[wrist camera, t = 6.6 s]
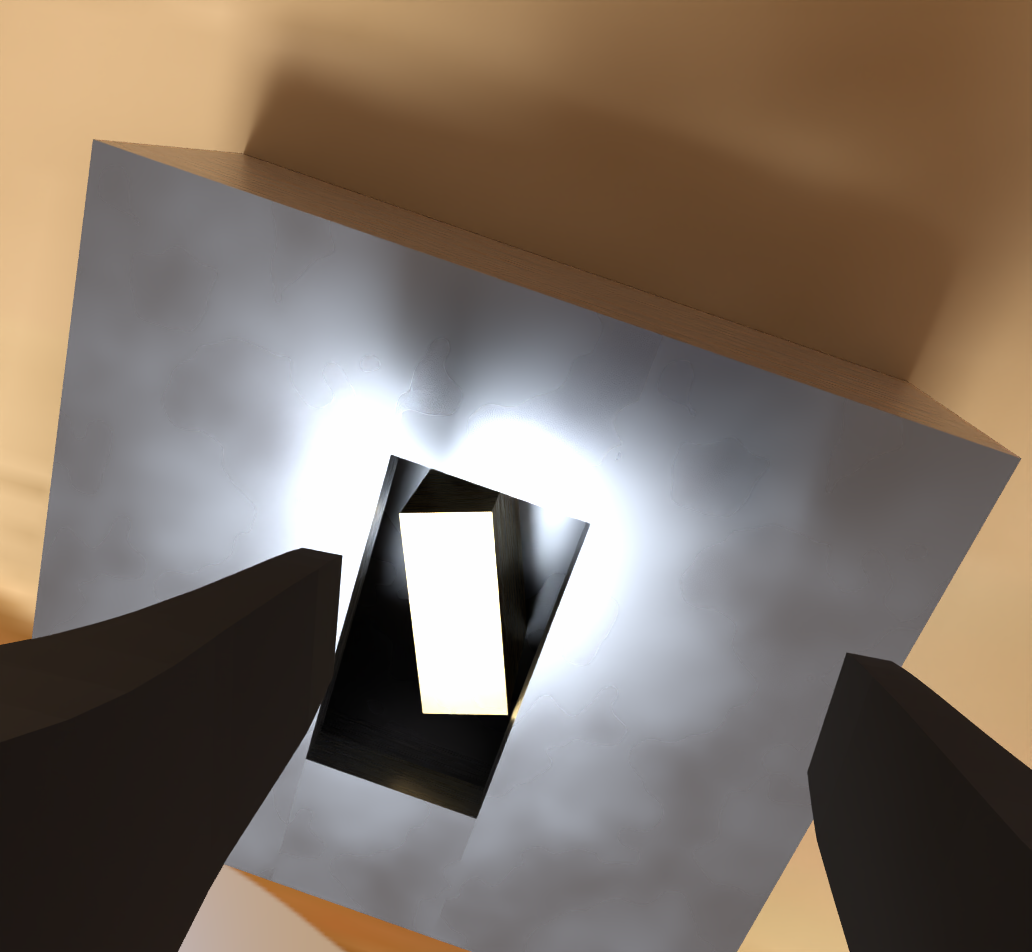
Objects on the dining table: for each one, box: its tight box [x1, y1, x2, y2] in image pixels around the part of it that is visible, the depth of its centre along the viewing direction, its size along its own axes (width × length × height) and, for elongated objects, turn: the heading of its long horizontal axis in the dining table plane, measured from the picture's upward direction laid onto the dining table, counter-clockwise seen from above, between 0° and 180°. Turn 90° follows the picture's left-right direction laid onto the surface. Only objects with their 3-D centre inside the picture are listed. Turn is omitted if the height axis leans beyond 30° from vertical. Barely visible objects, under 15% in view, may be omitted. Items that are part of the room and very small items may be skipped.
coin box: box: [32, 139, 1021, 952], centre depth 20 cm, size 17×15×6 cm
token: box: [399, 468, 527, 715], centre depth 20 cm, size 2×5×4 cm, turn 4°
